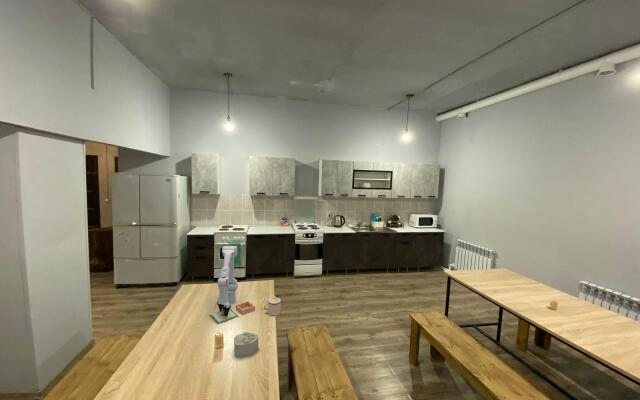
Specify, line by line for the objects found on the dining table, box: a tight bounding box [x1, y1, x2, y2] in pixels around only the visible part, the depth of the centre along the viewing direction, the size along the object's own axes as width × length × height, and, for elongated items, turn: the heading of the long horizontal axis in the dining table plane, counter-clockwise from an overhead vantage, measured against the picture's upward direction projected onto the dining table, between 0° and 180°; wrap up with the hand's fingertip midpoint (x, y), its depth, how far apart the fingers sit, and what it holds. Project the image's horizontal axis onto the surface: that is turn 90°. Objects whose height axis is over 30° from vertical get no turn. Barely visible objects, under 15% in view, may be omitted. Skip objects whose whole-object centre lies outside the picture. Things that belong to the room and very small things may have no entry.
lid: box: [211, 309, 236, 323], centre depth 185 cm, size 12×12×5 cm
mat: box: [208, 308, 240, 325], centre depth 186 cm, size 15×15×1 cm
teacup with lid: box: [263, 296, 282, 316], centre depth 192 cm, size 12×9×12 cm
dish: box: [235, 300, 256, 316], centre depth 194 cm, size 10×10×4 cm
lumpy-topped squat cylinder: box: [233, 331, 259, 358], centre depth 151 cm, size 10×13×9 cm
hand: (223, 313), depth 185 cm, fingers open, 7 cm apart
